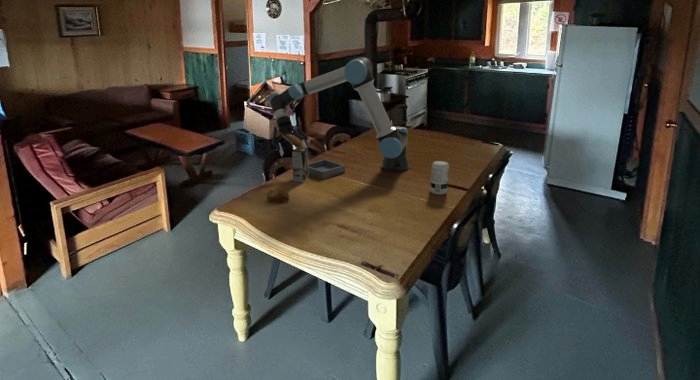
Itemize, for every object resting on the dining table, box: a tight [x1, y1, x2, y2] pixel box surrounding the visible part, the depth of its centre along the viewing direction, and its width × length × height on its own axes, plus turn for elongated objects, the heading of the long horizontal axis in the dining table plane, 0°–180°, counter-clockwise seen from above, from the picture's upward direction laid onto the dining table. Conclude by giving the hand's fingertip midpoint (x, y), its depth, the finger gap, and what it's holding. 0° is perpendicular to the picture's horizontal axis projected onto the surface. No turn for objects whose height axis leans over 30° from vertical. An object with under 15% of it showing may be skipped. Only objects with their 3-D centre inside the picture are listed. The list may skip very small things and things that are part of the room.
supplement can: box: [429, 160, 450, 196], centre depth 242 cm, size 8×8×15 cm
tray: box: [309, 158, 346, 180], centre depth 271 cm, size 16×16×4 cm
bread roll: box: [266, 186, 290, 205], centre depth 233 cm, size 10×10×8 cm
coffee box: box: [291, 147, 310, 183], centre depth 258 cm, size 9×6×16 cm
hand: (294, 153), depth 261 cm, fingers open, 13 cm apart
